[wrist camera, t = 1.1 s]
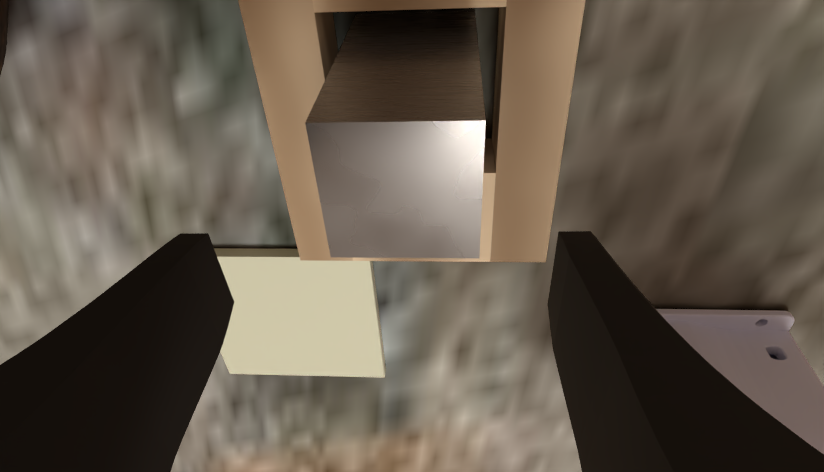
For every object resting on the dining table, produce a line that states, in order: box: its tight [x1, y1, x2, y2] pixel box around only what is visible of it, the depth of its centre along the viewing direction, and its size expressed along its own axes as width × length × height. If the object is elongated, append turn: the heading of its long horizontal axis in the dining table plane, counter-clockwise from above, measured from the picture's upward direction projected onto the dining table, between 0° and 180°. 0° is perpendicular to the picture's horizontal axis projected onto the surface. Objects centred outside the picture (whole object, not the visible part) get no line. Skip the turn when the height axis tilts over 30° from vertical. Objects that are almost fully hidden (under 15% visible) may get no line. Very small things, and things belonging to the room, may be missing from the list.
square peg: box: [305, 10, 486, 258], centre depth 16 cm, size 4×4×8 cm
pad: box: [214, 248, 386, 377], centre depth 28 cm, size 9×9×1 cm
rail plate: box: [238, 0, 585, 262], centre depth 18 cm, size 10×14×2 cm
